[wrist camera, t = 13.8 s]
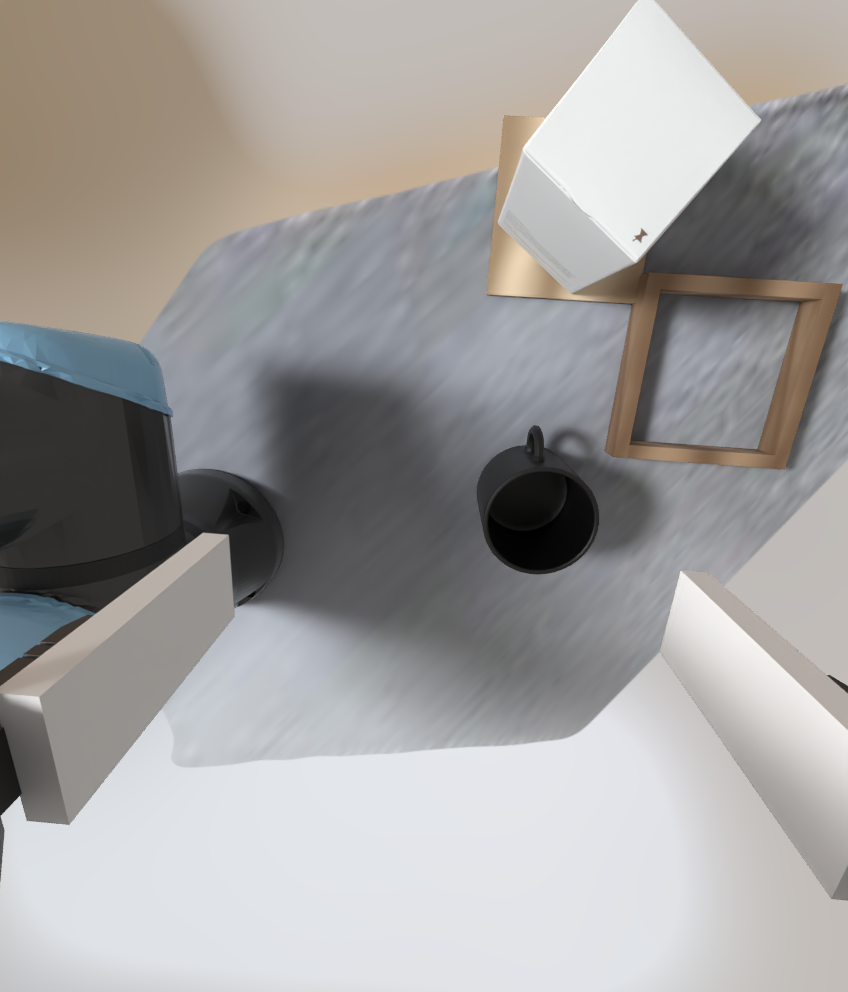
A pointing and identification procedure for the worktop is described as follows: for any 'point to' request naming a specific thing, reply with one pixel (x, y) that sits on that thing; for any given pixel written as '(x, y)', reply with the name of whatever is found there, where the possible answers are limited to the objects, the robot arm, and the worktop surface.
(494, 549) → the mug
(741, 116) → the supplement box
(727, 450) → the walnut frame
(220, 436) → the worktop surface
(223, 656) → the worktop surface
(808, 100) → the worktop surface
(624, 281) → the light wooden block
